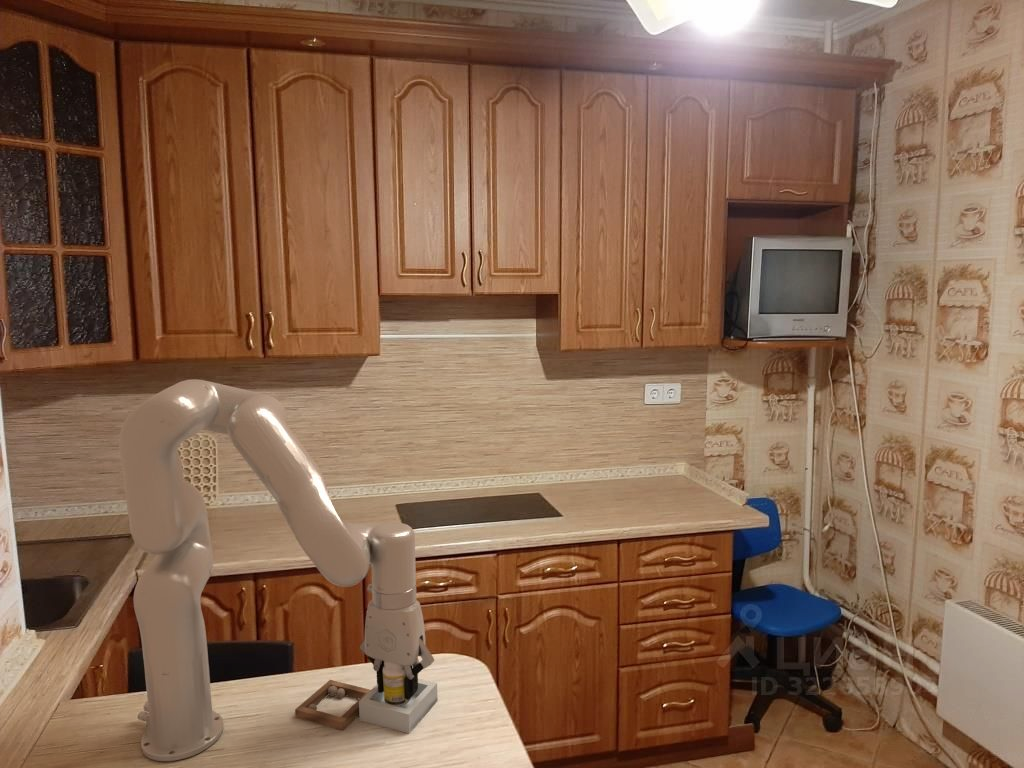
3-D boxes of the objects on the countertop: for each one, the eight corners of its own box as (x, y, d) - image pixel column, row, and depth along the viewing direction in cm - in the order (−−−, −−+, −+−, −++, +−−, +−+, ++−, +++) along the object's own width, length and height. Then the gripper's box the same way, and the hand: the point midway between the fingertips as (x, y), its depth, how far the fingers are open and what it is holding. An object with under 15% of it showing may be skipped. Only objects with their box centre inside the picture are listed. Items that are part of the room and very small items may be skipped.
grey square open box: (359, 720, 124) (358, 701, 123) (390, 689, 133) (389, 672, 132) (409, 733, 120) (408, 714, 119) (437, 700, 129) (437, 683, 129)
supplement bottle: (399, 688, 129) (397, 645, 128) (416, 698, 126) (414, 654, 125) (378, 701, 126) (376, 657, 124) (396, 711, 123) (394, 666, 121)
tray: (295, 717, 125) (294, 707, 124) (330, 687, 134) (330, 678, 134) (342, 730, 121) (342, 720, 121) (375, 698, 130) (375, 689, 130)
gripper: (340, 596, 123) (345, 693, 126) (426, 613, 116) (429, 715, 119) (365, 579, 130) (369, 671, 132) (448, 594, 123) (449, 691, 126)
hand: (397, 691), depth 126 cm, fingers closed on supplement bottle, 4 cm apart
